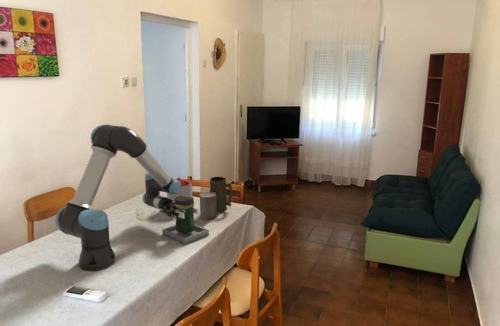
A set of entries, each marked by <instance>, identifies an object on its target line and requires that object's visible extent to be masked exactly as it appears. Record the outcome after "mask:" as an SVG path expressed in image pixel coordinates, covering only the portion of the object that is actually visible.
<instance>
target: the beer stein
mask: <svg viewBox="0 0 500 326" xmlns="http://www.w3.org/2000/svg"><path fill="white" fill-rule="evenodd" d="M209 185H210V186H209V192H213V193H216V204H217V205H216V206H217V213H221V212H225V211H227V209H228V207H232V202H231V201H232V199H233V196H234V191H233V187H232V183H231V182H228V183H227V179H226V178H225V177H224V176H223V177H222V176H214V177H213V176H212V177H210V179H209ZM227 189H229V190H227ZM227 191H229V193H228V192H227Z"/></svg>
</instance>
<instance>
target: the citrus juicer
mask: <svg viewBox="0 0 500 326" xmlns="http://www.w3.org/2000/svg"><path fill="white" fill-rule="evenodd" d="M175 180H178V181H179V182H180V183H181V189H180V191H179V193H177V194H170V193H166V197H167V198H170V199H172V201H173V202H175V198H176V197H178V196H180V195H181V196H187V197H193V189H192V187H193V186H192V185H193V184H192V183H193V182H192V180H190V179H186V178H181V177H177V178H176V179H175ZM174 211H175V209H174Z"/></svg>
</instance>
